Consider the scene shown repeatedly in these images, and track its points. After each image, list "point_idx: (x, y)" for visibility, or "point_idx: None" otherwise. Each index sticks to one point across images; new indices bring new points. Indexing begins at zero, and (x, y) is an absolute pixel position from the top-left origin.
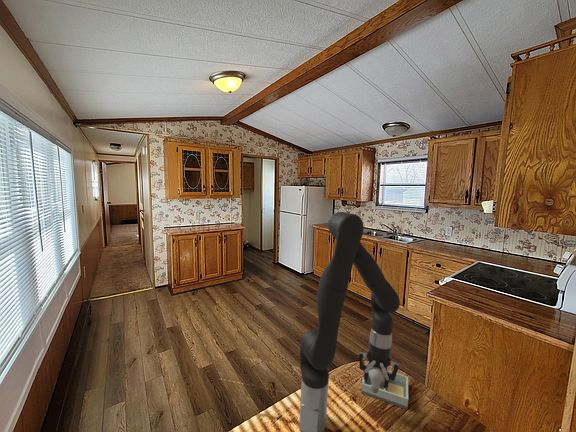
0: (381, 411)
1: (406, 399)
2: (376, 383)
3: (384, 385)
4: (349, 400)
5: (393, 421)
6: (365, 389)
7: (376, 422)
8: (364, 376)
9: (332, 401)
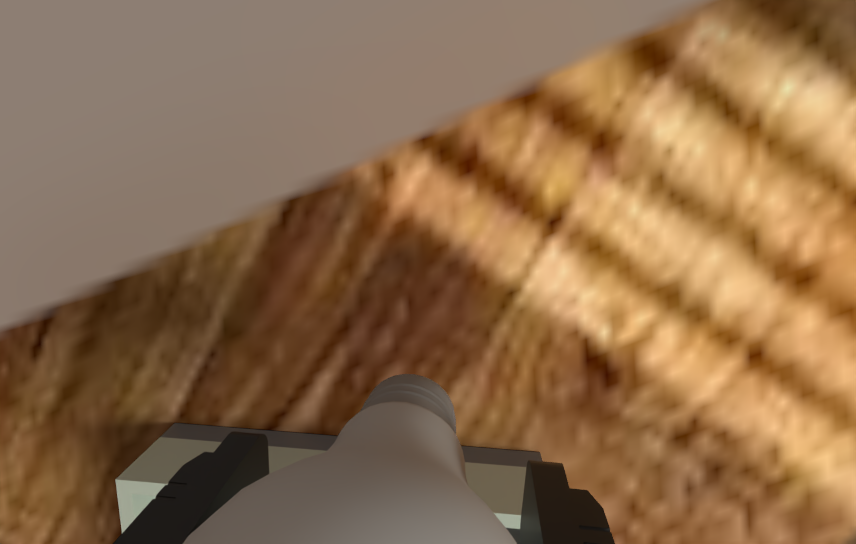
0: (361, 328)
1: (134, 477)
2: (362, 444)
3: (232, 461)
4: (640, 336)
5: (263, 268)
6: (510, 480)
7: (393, 200)
8: (601, 534)
9: (806, 263)
